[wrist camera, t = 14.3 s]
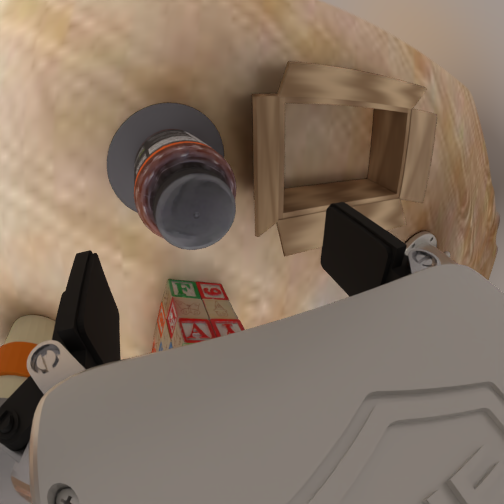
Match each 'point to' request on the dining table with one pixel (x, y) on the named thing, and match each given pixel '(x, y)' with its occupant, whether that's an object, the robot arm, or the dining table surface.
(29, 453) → the robot arm
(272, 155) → the carton
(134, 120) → the coaster
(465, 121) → the dining table surface
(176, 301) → the stack of blocks
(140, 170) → the supplement bottle
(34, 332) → the reusable coffee cup
